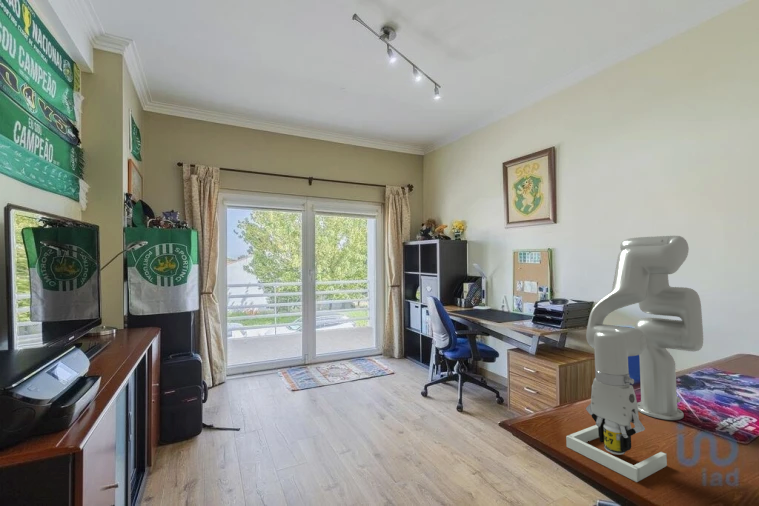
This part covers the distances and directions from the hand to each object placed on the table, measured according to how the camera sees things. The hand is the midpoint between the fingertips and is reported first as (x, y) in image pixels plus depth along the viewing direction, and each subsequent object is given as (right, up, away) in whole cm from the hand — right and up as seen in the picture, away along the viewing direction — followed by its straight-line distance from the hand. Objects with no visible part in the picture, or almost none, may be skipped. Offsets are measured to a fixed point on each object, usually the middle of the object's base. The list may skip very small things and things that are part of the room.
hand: (614, 445), depth 95 cm
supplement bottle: (0, -2, 0) cm, 2 cm away
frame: (0, -3, 0) cm, 3 cm away
